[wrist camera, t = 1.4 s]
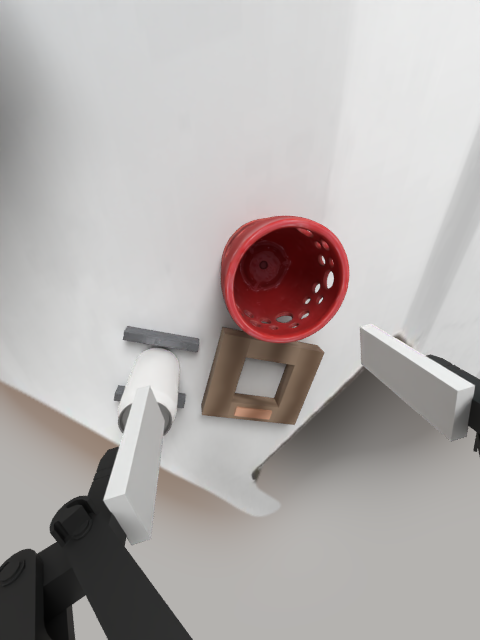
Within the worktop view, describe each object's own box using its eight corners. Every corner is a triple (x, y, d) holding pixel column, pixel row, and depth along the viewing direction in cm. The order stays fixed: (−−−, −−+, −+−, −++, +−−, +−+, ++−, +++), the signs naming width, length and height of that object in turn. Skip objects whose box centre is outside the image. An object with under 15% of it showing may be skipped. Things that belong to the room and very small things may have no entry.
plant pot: (200, 233, 35) (205, 242, 24) (295, 202, 35) (343, 196, 24) (230, 322, 40) (245, 363, 29) (312, 293, 41) (359, 322, 30)
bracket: (117, 392, 41) (113, 400, 39) (127, 326, 37) (124, 331, 36) (183, 399, 43) (183, 408, 41) (198, 338, 40) (199, 344, 38)
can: (183, 379, 42) (181, 437, 31) (141, 387, 41) (123, 450, 30) (174, 342, 39) (169, 391, 28) (129, 350, 39) (105, 404, 28)
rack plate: (201, 404, 44) (202, 416, 42) (222, 327, 40) (224, 334, 37) (289, 414, 48) (295, 426, 46) (317, 345, 44) (325, 353, 41)
